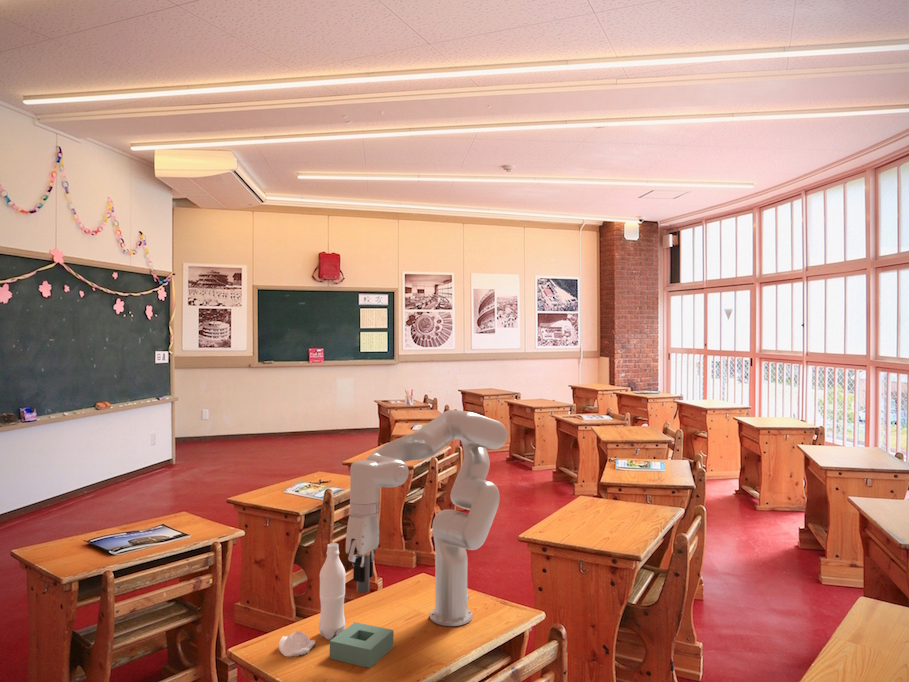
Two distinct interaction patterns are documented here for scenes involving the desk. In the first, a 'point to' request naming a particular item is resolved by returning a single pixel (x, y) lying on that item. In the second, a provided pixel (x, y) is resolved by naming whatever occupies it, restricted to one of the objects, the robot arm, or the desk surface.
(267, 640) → the desk surface
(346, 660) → the socket block
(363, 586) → the round peg
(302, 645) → the rose
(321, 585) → the water bottle
